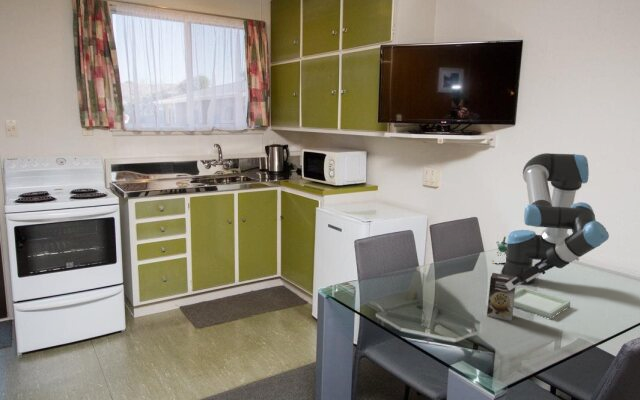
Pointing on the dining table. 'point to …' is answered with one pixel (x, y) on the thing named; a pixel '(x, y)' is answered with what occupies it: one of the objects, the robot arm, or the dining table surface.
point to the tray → (539, 303)
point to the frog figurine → (502, 246)
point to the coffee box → (500, 297)
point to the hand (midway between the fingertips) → (516, 282)
